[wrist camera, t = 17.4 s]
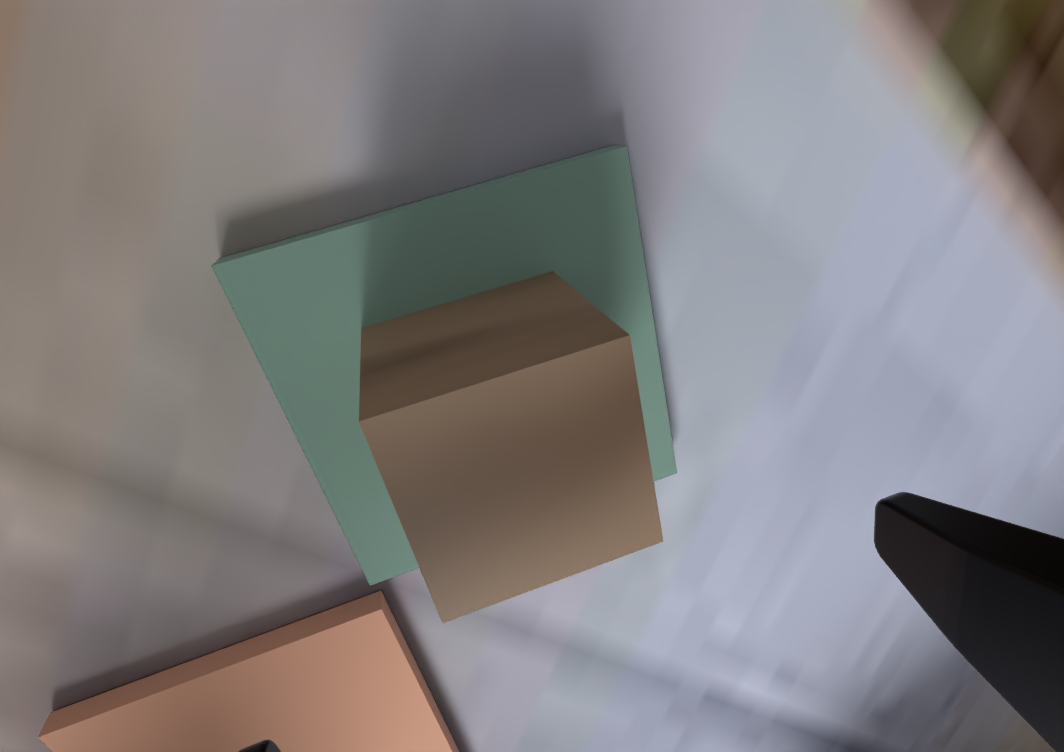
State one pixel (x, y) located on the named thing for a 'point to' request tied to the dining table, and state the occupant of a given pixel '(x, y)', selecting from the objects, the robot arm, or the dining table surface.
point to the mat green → (426, 281)
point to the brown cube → (508, 440)
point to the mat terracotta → (273, 695)
